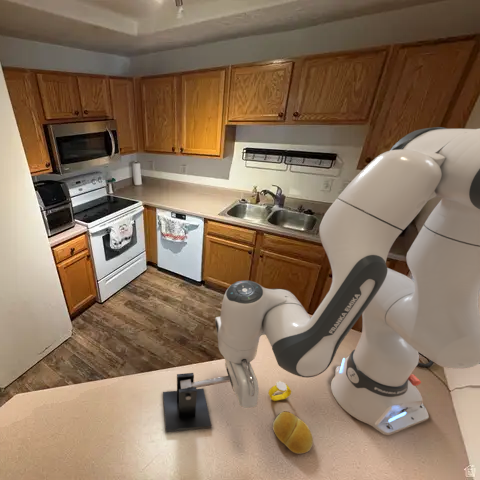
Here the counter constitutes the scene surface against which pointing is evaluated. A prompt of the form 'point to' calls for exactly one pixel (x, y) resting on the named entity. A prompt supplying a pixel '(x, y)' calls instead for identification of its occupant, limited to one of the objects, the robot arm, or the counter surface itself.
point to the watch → (282, 388)
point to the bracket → (185, 407)
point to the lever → (206, 382)
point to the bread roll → (292, 432)
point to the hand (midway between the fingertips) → (232, 379)
